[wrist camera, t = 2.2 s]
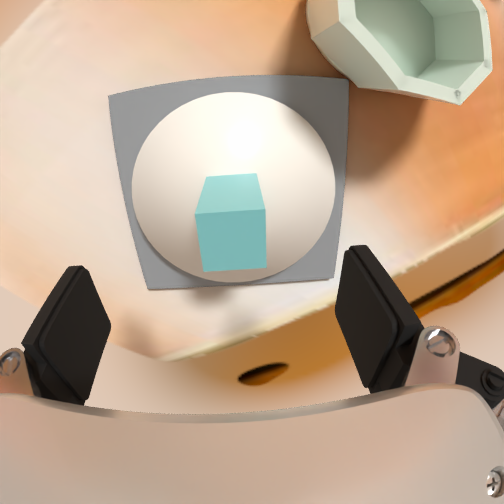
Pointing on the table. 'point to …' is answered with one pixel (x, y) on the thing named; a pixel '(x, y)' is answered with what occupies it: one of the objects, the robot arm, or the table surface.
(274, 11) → the table surface
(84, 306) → the robot arm
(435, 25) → the bowl
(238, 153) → the lid
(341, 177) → the mat
